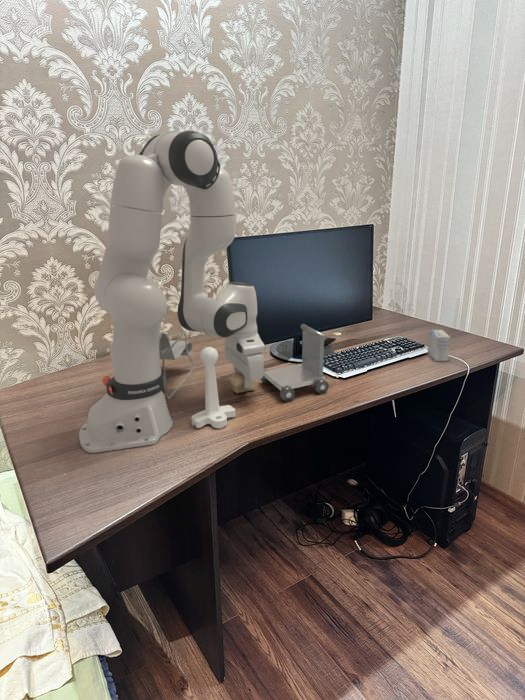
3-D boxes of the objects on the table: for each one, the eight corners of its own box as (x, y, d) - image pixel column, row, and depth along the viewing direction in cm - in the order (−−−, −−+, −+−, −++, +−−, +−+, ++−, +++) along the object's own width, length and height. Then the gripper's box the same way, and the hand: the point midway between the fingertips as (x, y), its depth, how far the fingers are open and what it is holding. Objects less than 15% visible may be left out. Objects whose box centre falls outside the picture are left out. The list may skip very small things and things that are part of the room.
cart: (282, 403, 128) (282, 344, 122) (259, 383, 140) (258, 329, 134) (328, 392, 134) (330, 336, 127) (302, 374, 146) (303, 322, 140)
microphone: (330, 347, 178) (298, 355, 164) (328, 332, 178) (296, 339, 163) (342, 345, 175) (311, 354, 160) (340, 330, 174) (308, 337, 160)
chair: (122, 399, 132) (113, 334, 125) (156, 366, 155) (150, 309, 148) (166, 403, 129) (160, 336, 122) (194, 368, 152) (190, 311, 145)
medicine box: (448, 361, 154) (451, 336, 151) (434, 361, 154) (437, 337, 151) (440, 353, 162) (443, 329, 159) (427, 353, 162) (429, 329, 159)
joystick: (227, 410, 124) (224, 340, 117) (242, 422, 118) (239, 348, 111) (189, 422, 119) (183, 349, 112) (202, 435, 113) (197, 358, 106)
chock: (236, 393, 133) (235, 378, 131) (231, 388, 136) (230, 373, 135) (255, 389, 135) (255, 375, 134) (249, 384, 139) (249, 370, 137)
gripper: (218, 330, 138) (220, 372, 143) (246, 351, 120) (247, 399, 125) (238, 327, 140) (239, 369, 145) (267, 347, 123) (268, 394, 128)
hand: (243, 383), depth 135 cm, fingers closed on chock, 4 cm apart
